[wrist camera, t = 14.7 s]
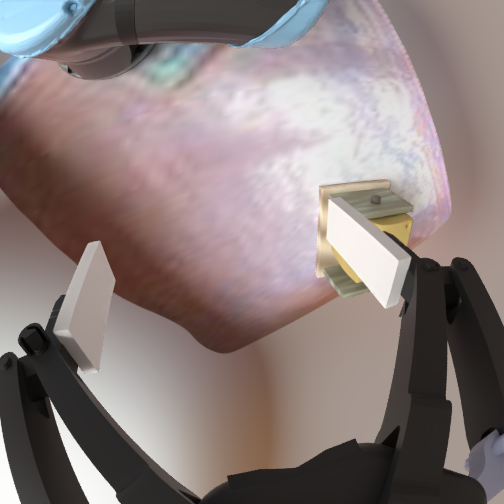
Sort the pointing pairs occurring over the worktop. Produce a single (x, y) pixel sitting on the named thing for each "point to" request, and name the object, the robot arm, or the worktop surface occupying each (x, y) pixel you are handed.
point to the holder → (369, 205)
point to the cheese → (391, 224)
